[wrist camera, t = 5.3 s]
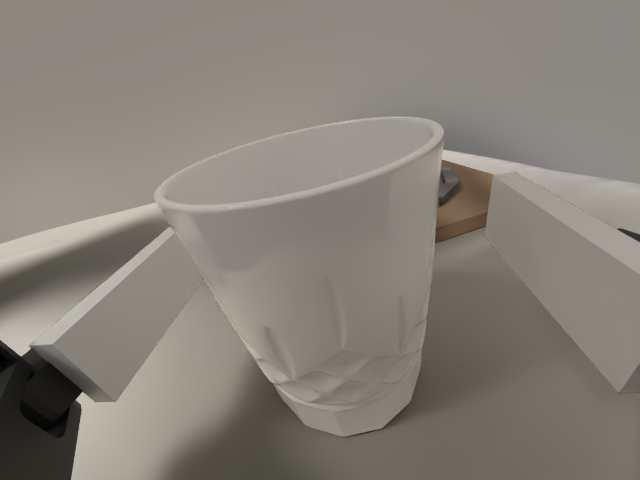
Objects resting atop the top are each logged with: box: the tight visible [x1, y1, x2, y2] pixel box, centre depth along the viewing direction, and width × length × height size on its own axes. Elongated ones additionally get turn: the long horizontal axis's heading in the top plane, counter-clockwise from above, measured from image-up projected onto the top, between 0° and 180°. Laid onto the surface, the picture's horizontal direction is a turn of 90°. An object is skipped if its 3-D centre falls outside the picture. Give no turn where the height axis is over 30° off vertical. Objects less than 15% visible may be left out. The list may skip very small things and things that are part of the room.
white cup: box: [154, 117, 444, 437], centre depth 10 cm, size 8×8×10 cm
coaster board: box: [435, 160, 493, 243], centre depth 26 cm, size 18×18×2 cm
